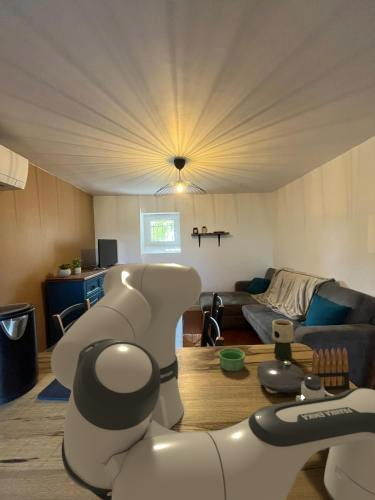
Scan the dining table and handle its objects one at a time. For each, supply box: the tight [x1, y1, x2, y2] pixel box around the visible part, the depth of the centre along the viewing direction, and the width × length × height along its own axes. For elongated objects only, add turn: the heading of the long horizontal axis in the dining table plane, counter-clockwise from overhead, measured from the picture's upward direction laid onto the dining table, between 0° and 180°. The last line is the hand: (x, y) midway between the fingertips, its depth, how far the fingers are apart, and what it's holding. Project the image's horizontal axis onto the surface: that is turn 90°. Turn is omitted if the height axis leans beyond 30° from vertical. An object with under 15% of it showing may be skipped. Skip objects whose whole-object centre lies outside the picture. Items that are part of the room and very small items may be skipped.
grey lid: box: [256, 359, 305, 396], centre depth 76 cm, size 13×13×5 cm
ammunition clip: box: [310, 347, 350, 392], centre depth 74 cm, size 11×2×12 cm, turn 92°
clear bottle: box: [300, 373, 324, 400], centre depth 61 cm, size 5×5×11 cm
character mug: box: [271, 318, 294, 361], centre depth 93 cm, size 11×7×13 cm, turn 2°
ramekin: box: [218, 347, 246, 372], centre depth 89 cm, size 9×9×4 cm
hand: (310, 395), depth 62 cm, fingers closed on clear bottle, 5 cm apart
